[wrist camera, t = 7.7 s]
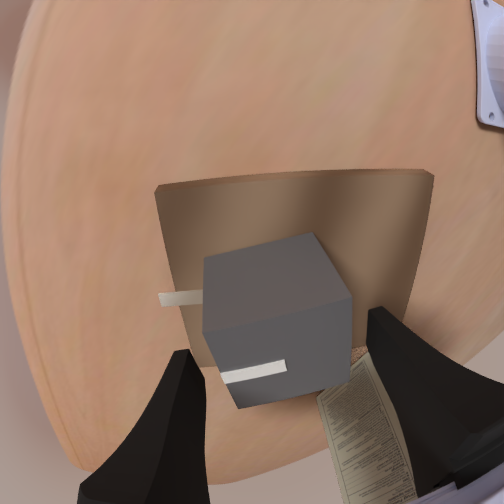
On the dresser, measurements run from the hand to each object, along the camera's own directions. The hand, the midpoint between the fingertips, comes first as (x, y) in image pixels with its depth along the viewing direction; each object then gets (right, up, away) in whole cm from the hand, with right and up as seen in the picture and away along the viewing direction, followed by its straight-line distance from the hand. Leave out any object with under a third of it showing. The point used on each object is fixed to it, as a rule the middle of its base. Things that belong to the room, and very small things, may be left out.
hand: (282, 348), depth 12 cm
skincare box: (+7, -6, +10) cm, 14 cm away
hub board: (+2, +3, +4) cm, 5 cm away
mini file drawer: (0, +2, +3) cm, 4 cm away
